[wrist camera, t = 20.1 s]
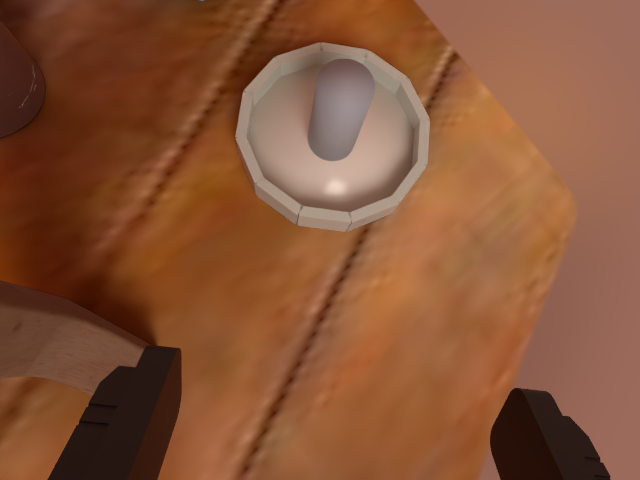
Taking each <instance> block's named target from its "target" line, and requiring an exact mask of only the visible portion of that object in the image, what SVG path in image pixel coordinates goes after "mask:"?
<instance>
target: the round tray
mask: <svg viewBox="0 0 640 480" xmlns="http://www.w3.org/2000/svg"><path fill="white" fill-rule="evenodd" d="M342 58H346V59H352V60H355V61H357V62H360V63H361V64H363V65H364V66H365V67H366V68H367V69H368V70H369V71H370V72H371V74H372V76H373V78H374V81H375V93H374V96H373V98H372V101H371V104H370V106H369V109H368V111H367V114H366V116H365V119H364V122H363V124H362V127H361V129H360V132H359V135H358V137H357V140H356V142H355V145H354V148H353V150H352V151H351V153H350V154H349V155H348V156H347V157H345V158H344V159H341V160H338V161H327V160H323V159H321V158H319V157H318V156H316V155H315V154H314V153H313V152H312V150H311V149H310V147H309V144H308V131H309V125H310V119H311V112H312V106H313V100H314V93H315V87H316V81H317V76H318V73H319V72H320V70H321V69H322V67H323V66H324V65H326V64H327V63H328V62H330V61H333V60H336V59H342ZM429 119H430V118H429V117H428V115H427V113H426V111H425V109H424V107H423V105H422V103H421V101H420V99H419V97H418V95H417V93H416V92H415V90H414V88H413V86H412V84H411V82H410V80H409V78H408V79H407V76H405V75H404V74H402V73H401V72H400V71H398V70H397V69H395V68H394V67H393V66H391V65H390V64H388V63H387V62H385V61H384V60H383V59H381V58H380V57H378V56H377V55H375V54H374V53H373V52H371V51H370V50H369V51H368V50H367V49H361V48H355V47H349V46H343V45H336V44H330V43H324V42H321V44H320V42H319V43H316V44H312V45H309V46H306V47H303V48H300V49H297V50H293V51H290V52H287V53H284V54H281V55H278V56H276V58H275V57H274V58H273V59H272V60H271V61H270V62H269V63H268V64H267V65H266V67H265V68H264V69H263V70H262V71H261V72H260V73H259V74H258V75H257V76H256V77H255V79H254V80H253V81H252V82H251V83H250V84H249V85H248V86H247V87H246V88H245V89H244V92H243V95H242V101H241V107H240V113H239V118H238V124H237V130H236V136H235V137H236V144H237V149H238V154H239V156H240V159H241V161H242V163H243V166H244V168H245V170H246V173H247V175H248V177H249V180H250V182H251V184H252V187H253V189H254V192H255V194H256V195H257V197H259V198H260V199H262V200H263V201H264V202H266V203H267V204H268V205H270V206H271V207H272V208H274V209H275V210H276V211H278V212H279V213H280V214H282V215H283V216H284V217H286V218H287V219H288V220H290V221H291V222H293V223H294V224H295V225H296V224H297V225H298V226H305V227H312V228H320V229H327V230H335V231H342V232H346V231H350V230H352V229H355V228H357V227H360V226H362V225H365V224H367V223H370V222H372V221H375V220H377V219H380V218H382V217H385V216H387V215H390V214H391V213H392V212H393V211H394V209H395V208H396V207H397V206H398V205H399V203H400V202H401V201H402V199H403V198H404V196H405V195H406V194H407V192H408V191H409V190H410V188H411V187H412V186H413V184H414V183H415V181H416V180H417V179H418V177H419V176H420V175H421V173H422V172H423V171H424V169H425V168H426V166H427V161H428V144H429V127H430V120H429ZM297 222H298V223H297Z"/></svg>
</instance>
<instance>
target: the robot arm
mask: <svg viewBox="0 0 640 480" xmlns="http://www.w3.org/2000/svg"><path fill="white" fill-rule="evenodd" d="M44 96H45V81H44V78H43V75H42V72H41V71H40V69H39V68H38V66H37V65H36V63H35V62H34V61H33V60H32V58H31V57H30V56H29V55H28V54H27V52H26V51H25V50H24V49H23V47H22V46H21V45H20V44H19V42H18V41H17V40H16V39H15V37H14V36H13V35H12V34H11V32H10V31H9V30H8V29H7V27H6V26H5V25H4V24H3V23H2V21H1V20H0V137H3V136H6V135H9V134H11V133H14V132H16V131H18V130H19V129H21V128H22V127H24V126H25V125H27V124H28V123H29V122H30V121H31V120H32V119H33V118H34V117H35V115H36V114H37V112H38V111H39V110H40V108H41V105H42V103H43V101H44ZM181 393H182V382H181V349H180V348H172V347H163V346H155V345H147V346H146V347H145V349H144V351H143V353H142V355H141V357H140V359H139V361H138V363H137V365H136V367H128V366H118V367H117V368H116V369H114V370H113V371H112V372H111V373H110V374H109V375H108V376H106V377H105V378H104V379H103V380H102V381H101V382H100V383H99V385H98V387H97V389H96V391H95V392H94V394H93V396H92V398H91V400H90V402H89V405H88V407H86V409H85V411H84V413H83V415H82V417H81V418H80V420H79V424H78V425H77V426H76V428H75V430H74V431H73V433H72V435H71V437H70V439H69V441H68V443H67V445H66V446H65V448H64V450H63V452H62V454H61V456H60V458H59V459H58V461H57V463H56V465H55V467H54V469H53V471H52V472H51V474H50V476H49V478H48V480H157V479H158V476H159V473H160V469H161V466H162V463H163V460H164V457H165V454H166V451H167V448H168V445H169V442H170V439H171V436H172V433H173V429H174V426H175V423H176V420H177V417H178V413H179V408H180V402H181ZM490 446H491V452H492V455H493V458H494V461H495V464H496V467H497V470H498V473H499V476H500V479H501V480H610V475H609V473H608V471H607V469H606V468H605V466H604V464H603V463H601V462H600V457H599V455H598V453H597V452H596V450H595V448H594V446H593V444H592V442H591V441H590V439H589V437H588V436H587V435H586V434H585V433H584V432H583V431H582V430H581V428H580V427H579V426H578V425H577V424H576V423H575V422H574V421H573V420H572V419H571V418H570V417H568V416H562V414H561V412H560V410H559V408H558V406H557V404H556V403H555V400H554V399H553V397H552V396H551V394H550V393H548V392H546V391H538V390H529V389H521V388H514V389H513V390H512V391H511V392H510V394H509V396H508V398H507V400H506V402H505V403H504V405H503V407H502V409H501V411H500V413H499V415H498V417H497V419H496V421H495V423H494V425H493V427H492V430H491V435H490Z"/></svg>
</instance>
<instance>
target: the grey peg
mask: <svg viewBox="0 0 640 480" xmlns="http://www.w3.org/2000/svg"><path fill="white" fill-rule="evenodd" d="M374 93H375V81H374V78H373V76H372V74H371V72H370V71H369V70H368V69H367V68H366V67H365V66H364V65H363V64H361V63H360V62H357V61H355V60H352V59H346V58H342V59H336V60H333V61H330V62H328V63H327V64H326V65H324V66H323V67H322V69H321V70H320V72H319V73H318V76H317V81H316V87H315V93H314V100H313V106H312V112H311V119H310V125H309V131H308V144H309V147H310V149H311V150H312V152H313V153H314V154H315V155H316V156H318V157H319V158H321V159H323V160H327V161H338V160H341V159H344V158H345V157H347V156H348V155H349V154H350V153H351V151H352V150H353V148H354V145H355V142H356V140H357V137H358V135H359V132H360V129H361V127H362V124H363V122H364V119H365V116H366V114H367V111H368V109H369V106H370V104H371V101H372V98H373V96H374Z"/></svg>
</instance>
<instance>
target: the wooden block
mask: <svg viewBox="0 0 640 480" xmlns="http://www.w3.org/2000/svg"><path fill="white" fill-rule="evenodd" d="M147 345H151V344H149V343H147V342H145V341H143V340H141V339H140V338H138V337H136V336H134V335H132V334H131V333H129V332H127V331H125V330H123V329H122V328H120V327H118V326H116V325H114V324H113V323H111V322H109V321H107V320H105V319H103V318H102V317H100V316H98V315H96V314H94V313H93V312H91V311H89V310H87V309H85V308H84V307H82V306H80V305H78V304H76V303H74V302H73V301H71V300H69V299H66V298H63V297H59V296H56V295H52V294H48V293H45V292H41V291H38V290H34V289H30V288H26V287H23V286H19V285H15V284H11V283H8V282H4V281H0V378H11V377H22V376H33V377H42V378H48V379H51V380H54V381H57V382H60V383H63V384H66V385H69V386H72V387H75V388H77V389H79V390H81V391H83V392H85V393H87V394H89V395H91V396H93V394H94V392H95V391H96V389H97V387H98V385H99V383H100V382H101V381H102V380H103V379H104V378H105V377H106V376H108V375H109V374H110V373H111V372H112V371H113V370H114V369H116V368H117V367H118V366H128V367H136V365H137V363H138V361H139V359H140V357H141V355H142V353H143V351H144V349H145V347H146V346H147Z"/></svg>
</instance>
